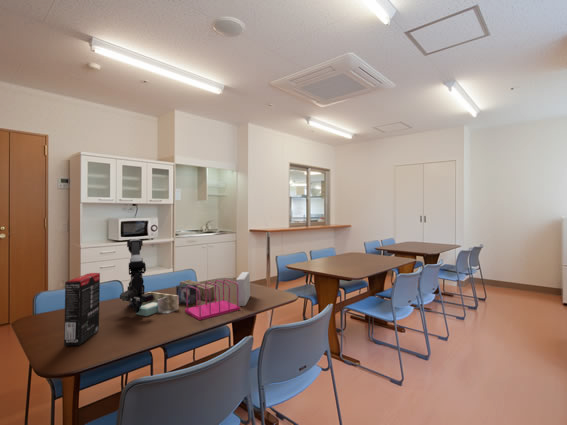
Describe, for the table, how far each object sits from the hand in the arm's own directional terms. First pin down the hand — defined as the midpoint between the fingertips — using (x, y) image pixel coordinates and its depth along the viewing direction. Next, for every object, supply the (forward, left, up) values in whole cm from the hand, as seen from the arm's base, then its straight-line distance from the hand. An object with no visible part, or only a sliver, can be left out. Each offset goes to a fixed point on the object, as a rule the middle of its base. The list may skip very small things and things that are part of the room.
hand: (136, 312), depth 162 cm
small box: (+9, +29, -2) cm, 30 cm away
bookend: (+10, +11, -1) cm, 15 cm away
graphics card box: (+2, -30, -2) cm, 30 cm away
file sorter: (+33, +22, -2) cm, 40 cm away
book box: (+2, +7, -2) cm, 8 cm away
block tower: (+5, +44, -2) cm, 44 cm away
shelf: (+3, +12, -2) cm, 12 cm away
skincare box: (+40, +45, -2) cm, 60 cm away
